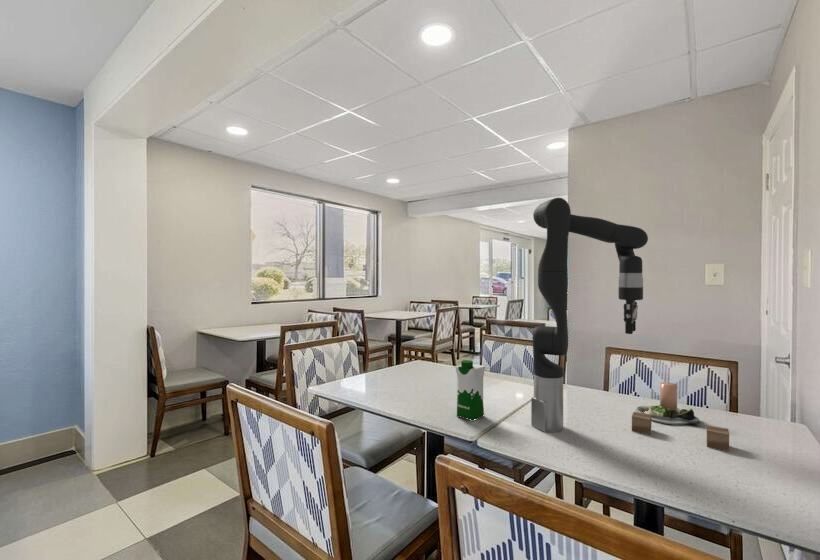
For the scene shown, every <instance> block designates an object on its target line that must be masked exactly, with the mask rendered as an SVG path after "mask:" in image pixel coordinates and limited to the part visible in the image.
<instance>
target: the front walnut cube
mask: <svg viewBox="0 0 820 560" xmlns="http://www.w3.org/2000/svg"><path fill="white" fill-rule="evenodd" d="M708 447H709V449H713V448H715V449H714V450H718V449H720V451H723V450H725V451H724V452H728V451H729V452H730V431H729V429H728V428H725V427H720V426H713V425H708V424H706V448H708Z"/></svg>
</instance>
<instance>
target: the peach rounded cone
mask: <svg viewBox="0 0 820 560" xmlns="http://www.w3.org/2000/svg"><path fill="white" fill-rule="evenodd" d="M659 405H660V406H661V407H663V408H667V409H677V408H678V384H677V383H674V382H666V381H663V382H662V381H661V382H659Z"/></svg>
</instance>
